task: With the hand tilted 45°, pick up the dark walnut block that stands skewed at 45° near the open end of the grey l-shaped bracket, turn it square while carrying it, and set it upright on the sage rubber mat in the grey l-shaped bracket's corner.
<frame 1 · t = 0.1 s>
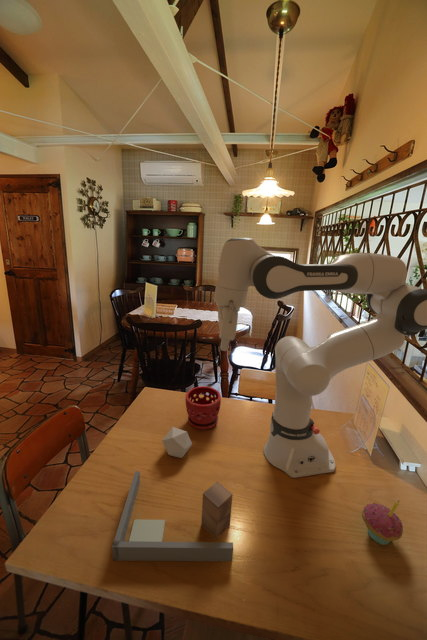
hand: (222, 343, 81), 39 cm above the table, tool pointing down, fingers open, 8 cm apart
grey l-shaped bracket: (180, 516, 71), on the table
walnut block: (215, 525, 69), on the table
plant pot: (202, 422, 108), on the table
die: (177, 452, 92), on the table
cupcake: (377, 535, 69), on the table
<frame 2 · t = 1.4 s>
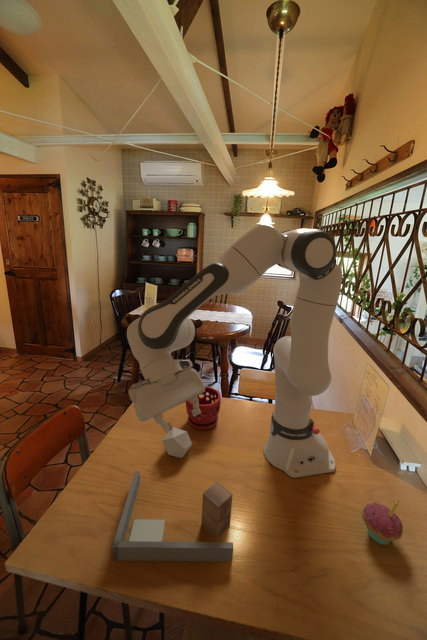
hand: (184, 422, 71), 23 cm above the table, tool tilted 45°, fingers open, 8 cm apart
nothing on the table moved.
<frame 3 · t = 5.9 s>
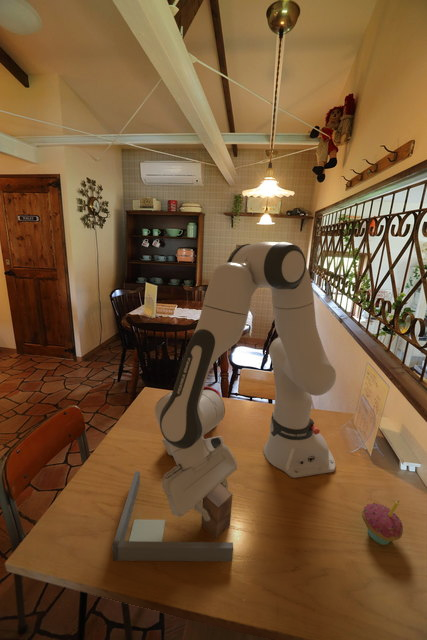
hand: (218, 510, 67), 5 cm above the table, tool tilted 45°, fingers closed on walnut block, 5 cm apart
walnut block: (215, 525, 69), on the table, touching gripper
everything else where it was.
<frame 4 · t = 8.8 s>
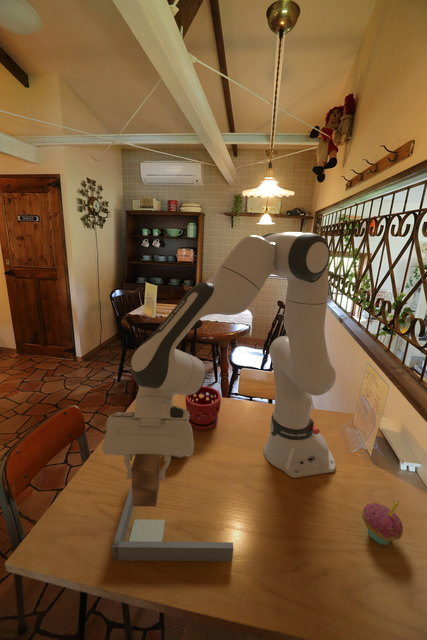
hand: (145, 479, 60), 18 cm above the table, tool tilted 45°, fingers closed on walnut block, 5 cm apart
walnut block: (146, 496, 63), point 12 cm above the table, touching gripper
everything else where it was.
when the fingers open (7 cm above the table, at t = 11.9 s): walnut block drops 1 cm, resting on grey l-shaped bracket.
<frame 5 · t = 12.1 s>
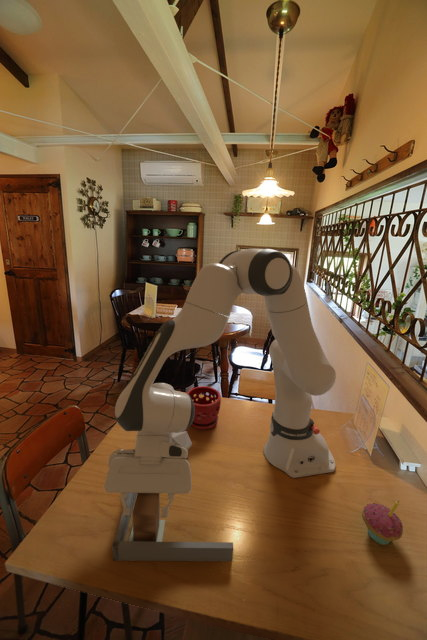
hand: (145, 516, 64), 7 cm above the table, tool tilted 45°, fingers open, 7 cm apart
walnut block: (147, 535, 66), resting on grey l-shaped bracket
everything else where it was.
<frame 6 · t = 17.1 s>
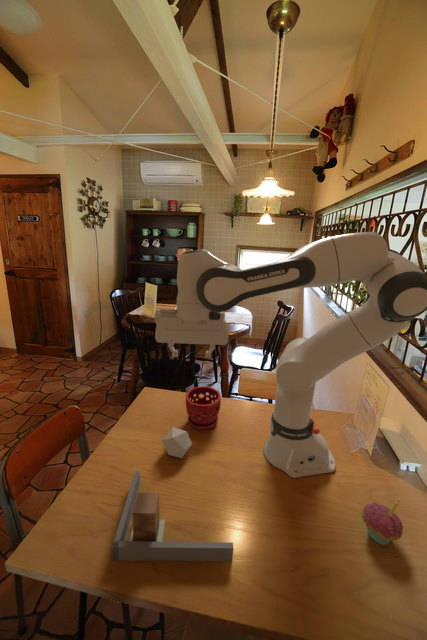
hand: (191, 357, 80), 35 cm above the table, tool pointing down, fingers open, 8 cm apart
nothing on the table moved.
at the end: walnut block 0.1 cm from the target spot, resting on grey l-shaped bracket; walnut block tilted 0°; the gripper is holding nothing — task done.
